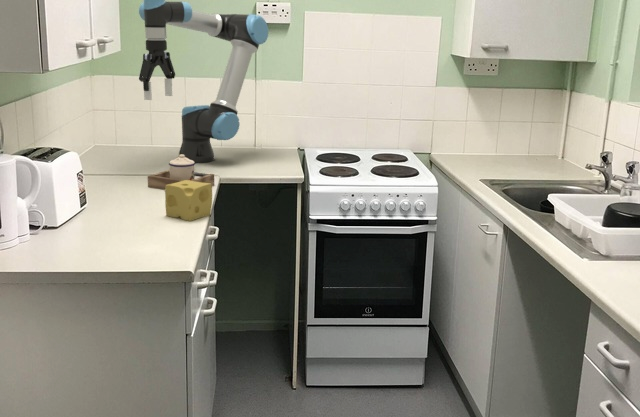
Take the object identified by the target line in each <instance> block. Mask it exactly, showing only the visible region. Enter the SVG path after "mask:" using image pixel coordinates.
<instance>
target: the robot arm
mask: <svg viewBox="0 0 640 417" xmlns="http://www.w3.org/2000/svg"><path fill="white" fill-rule="evenodd" d="M138 14H139V17H140V19H141V20H143V21H144V29H145V30H144V32H145V39H146V40H145V50H146V51H147V52H148V53H143V55H142V63H141V66H140V72H139V77H138V80H139V81H140V82H141V83H142V85H143V98H144V101H152V100H153V98H152V97H153V96H152V95H153V94H152V82H151V81H150V80H151V79H152V76H153V73H154V71H155V68H156V67H158V66H159V68H160V69H161V71H162V72H163V74H164V77H165V78H164V96H165V97H173V79H175V78H176V72H175V70H174V65H173V63H172V59H171V54H170V52H168V51H167V49H168V46H167V45H168V44H167V40H166V39H167V38H168V37H167V36H168V35H167V25H169V26H173V27H178V28H183V29H187V30H191V31H192V30H193V31H198V32H200V33H201V32H202V33H207V34H208V35H209V37H213V38H217V39H221V40H224V41H226V42H230V44H231V45H232V48H231V51H230V54H229V58H228V60H227V63H226V66H225V70H224V73H223V76H222V80H221V82H220V86H219V89H218V92H217V94H216V98H215V100H214V101H212V102H210V104H205V105H203V104H202V105H190V106H189V105H188V106H184V107H183V108H182V109H181V110H182V111H181V135H182V138H181V139H182V140H181V141H182V142H181V145H180V149H179V152H178V156H179V155H181V154H183V155H185V157H186V158H188V159H190V160H193V161H194V162H195V164H196V163H199V164H200V163H208V162H209V163H210V162H213V161H214V160H215V153H214V149H213V147H212V144H211V139H213V140H216V141H229V140H231V139H233V138H234V137H235V136H237V135H236V134H238V132H239V130H240V119H239V118H240V117H239V116H238V110H237V103H238V101H239V97H240V94H241V90H242V87H243V86H244V85H243V84H244V82H245V78H246V75H247V73H248V68H249V66H250V63H251V60H252V56H253V54H254V53H256V52H258V49H259V46H260V45H262V44H264V43H266V41H267V40H268V37H269V27H268V25H267V24H268V23H267V21H266V20H265V18H264V17H262V16H261V15H258V14H254V13H250V14H240V13H239V14H237V13H231V14H229V13H228V14H223V13H222V14H221V13H215V12H214V13H211V14H210V13H204V12H200V11H197V10H193V7H192V6H191V4H190V3H189V2H186V1H166V0H143V2H142V3H141V4H140V5H139V8H138Z"/></svg>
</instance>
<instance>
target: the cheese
mask: <svg viewBox="0 0 640 417" xmlns="http://www.w3.org/2000/svg"><path fill="white" fill-rule="evenodd" d="M164 192H165V193H164V194H165V196H164V197H165V201H164V202H165V205H164V206H165V216H167V217H171V218H178V219H179V218H181V220H183V219H184V221H187V222H191V221H195V220H196V219H200V218H203V217H209V216H210V215H211V212H212V205H213V186H212V185H211V183H202V182H195V181H190V180H184V181H180V182H177V183H173V184H168V185H165V190H164Z"/></svg>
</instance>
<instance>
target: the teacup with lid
mask: <svg viewBox="0 0 640 417" xmlns="http://www.w3.org/2000/svg"><path fill="white" fill-rule="evenodd" d="M168 165H169V170H170V178H173V179H180V180H193V179H195V176H194V172H195V165H196V163H195V162H194V161H193V160H190V159H188V158H186V157H185V155H183V154H181V155H179V154H178V157H176V158H174V159H171V160H170V161H169V163H168Z"/></svg>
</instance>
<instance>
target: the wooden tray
mask: <svg viewBox="0 0 640 417" xmlns="http://www.w3.org/2000/svg"><path fill="white" fill-rule="evenodd" d="M194 177H197V178H194V179H193V180H190V181H195V182H202V183H211V185H212V187H213V186H215V174H214V173H205V172H204V173H203V172H196V171H194ZM180 181H184V180H180V179H173V178H170V169H168V170H164V171H161V172H158V173H153V174H150V175H148V176H147V187H148V188H151V189H159V190H163V191H165V185H168V184H173V183H177V182H180Z"/></svg>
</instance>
